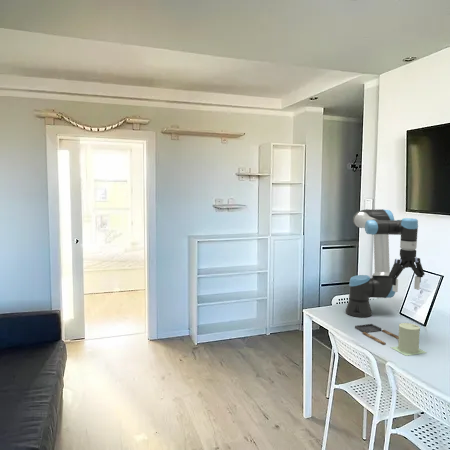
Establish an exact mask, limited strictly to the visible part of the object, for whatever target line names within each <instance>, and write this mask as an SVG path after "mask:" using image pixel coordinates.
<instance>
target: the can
mask: <svg viewBox="0 0 450 450" xmlns="http://www.w3.org/2000/svg"><path fill="white" fill-rule="evenodd" d="M420 332H421V327H420V326H419V325H417V324H414V323H409V322H402V323H399V324H398V336H399V339H398V344H397V346H398V349H399V350H400V351H402V352H405V353H411V354H415V353H418V352H419V349H420ZM415 355H416V354H415Z"/></svg>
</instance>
